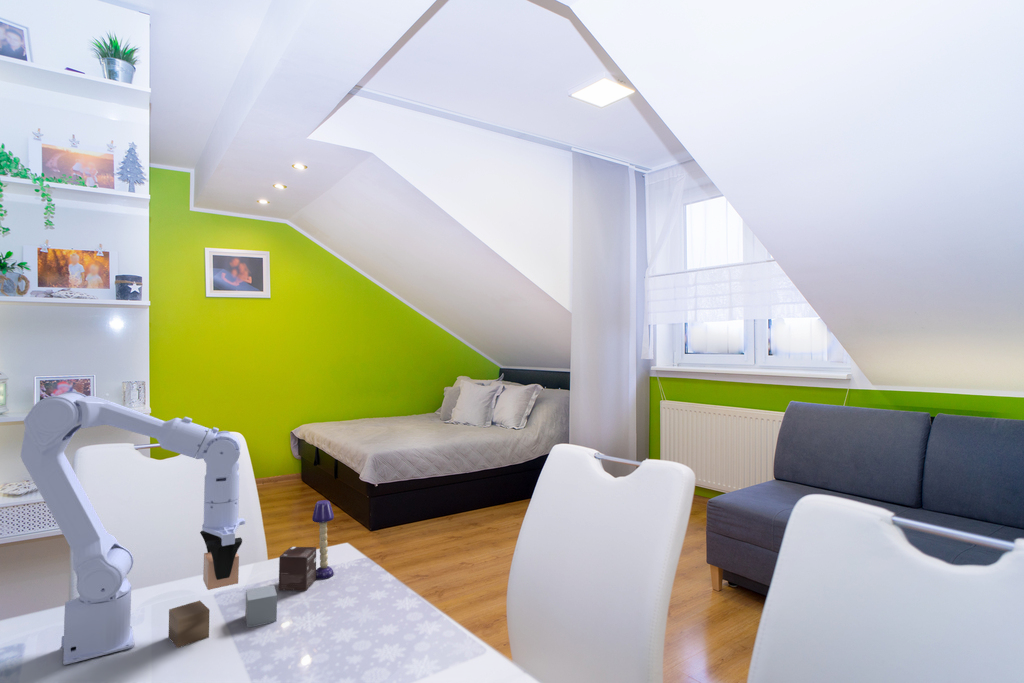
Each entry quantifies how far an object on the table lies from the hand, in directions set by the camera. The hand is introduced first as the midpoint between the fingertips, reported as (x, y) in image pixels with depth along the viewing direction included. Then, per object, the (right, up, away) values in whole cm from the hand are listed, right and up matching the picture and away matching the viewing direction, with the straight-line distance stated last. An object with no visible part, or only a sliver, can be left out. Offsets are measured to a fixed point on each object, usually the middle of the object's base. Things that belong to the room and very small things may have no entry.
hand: (220, 572), depth 104 cm
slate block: (+6, -10, +3) cm, 12 cm away
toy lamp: (+11, -10, +23) cm, 28 cm away
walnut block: (-4, -10, -4) cm, 11 cm away
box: (+7, -10, +18) cm, 22 cm away
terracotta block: (0, -2, 0) cm, 2 cm away
